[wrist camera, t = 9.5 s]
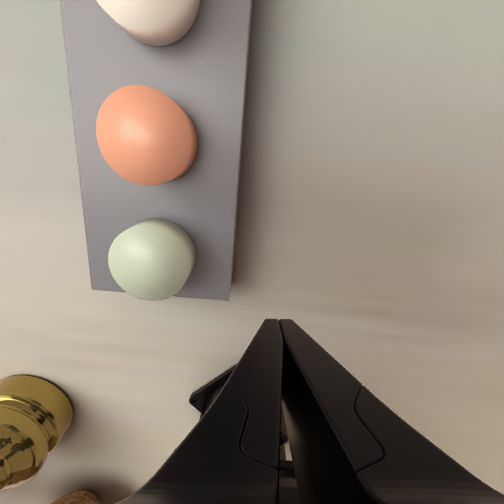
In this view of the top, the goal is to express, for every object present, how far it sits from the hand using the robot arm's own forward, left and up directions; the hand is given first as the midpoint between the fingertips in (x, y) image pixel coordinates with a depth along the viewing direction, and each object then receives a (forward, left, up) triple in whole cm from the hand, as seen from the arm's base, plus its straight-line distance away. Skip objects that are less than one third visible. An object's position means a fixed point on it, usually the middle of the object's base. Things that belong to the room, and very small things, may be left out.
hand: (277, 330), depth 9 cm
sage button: (-5, +4, -8) cm, 11 cm away
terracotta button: (-1, +8, -9) cm, 12 cm away
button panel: (-1, +8, -11) cm, 14 cm away
